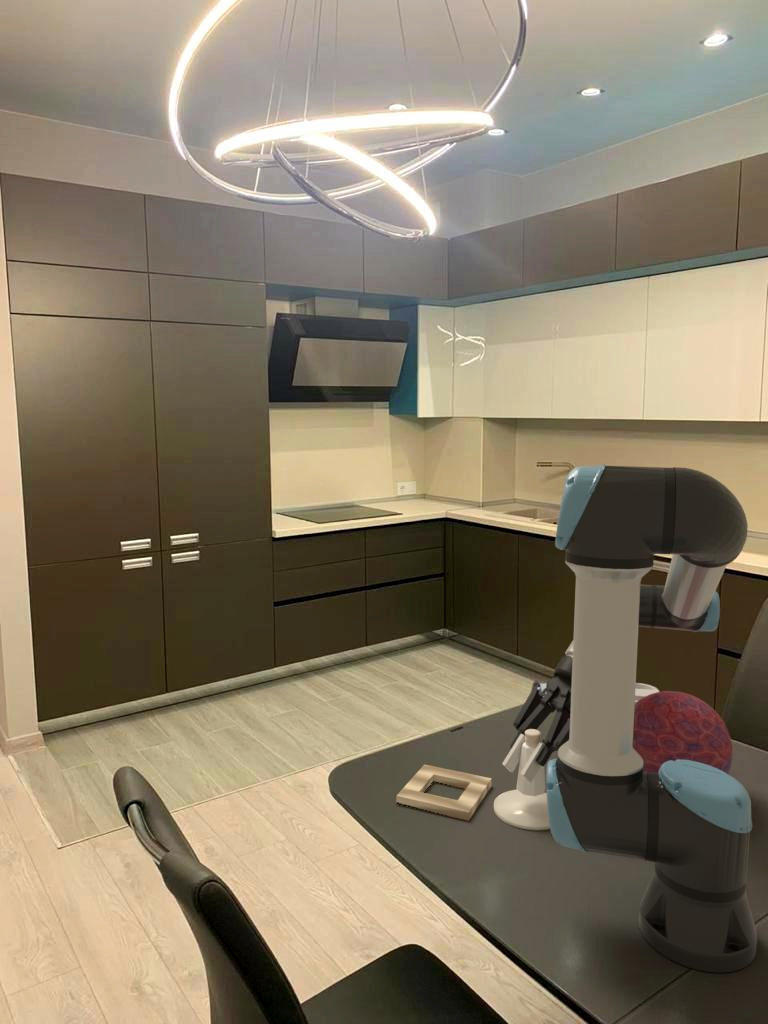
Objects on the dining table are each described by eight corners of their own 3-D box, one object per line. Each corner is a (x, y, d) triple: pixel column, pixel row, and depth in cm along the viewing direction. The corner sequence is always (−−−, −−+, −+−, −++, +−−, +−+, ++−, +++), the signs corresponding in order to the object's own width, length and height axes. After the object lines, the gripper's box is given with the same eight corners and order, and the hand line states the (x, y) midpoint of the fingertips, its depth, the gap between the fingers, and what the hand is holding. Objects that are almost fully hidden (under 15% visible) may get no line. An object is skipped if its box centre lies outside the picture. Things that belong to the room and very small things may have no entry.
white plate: (558, 837, 130) (558, 832, 130) (484, 820, 135) (484, 815, 135) (572, 802, 142) (572, 798, 141) (504, 787, 147) (504, 783, 147)
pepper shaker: (510, 789, 138) (511, 731, 137) (526, 778, 142) (527, 722, 141) (535, 799, 134) (537, 740, 133) (551, 788, 138) (553, 731, 137)
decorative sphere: (729, 783, 149) (736, 685, 147) (728, 834, 131) (735, 723, 129) (623, 763, 157) (628, 670, 155) (608, 808, 139) (613, 703, 137)
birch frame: (468, 820, 135) (468, 812, 135) (396, 803, 141) (396, 795, 140) (491, 786, 148) (491, 778, 147) (424, 771, 153) (424, 764, 153)
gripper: (627, 689, 138) (562, 802, 131) (556, 664, 152) (493, 765, 144) (610, 667, 134) (541, 782, 127) (538, 643, 148) (473, 745, 140)
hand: (516, 772), depth 135 cm, fingers closed on pepper shaker, 4 cm apart
